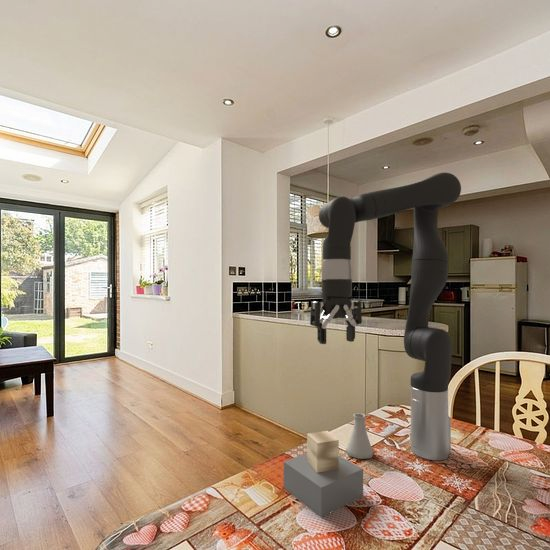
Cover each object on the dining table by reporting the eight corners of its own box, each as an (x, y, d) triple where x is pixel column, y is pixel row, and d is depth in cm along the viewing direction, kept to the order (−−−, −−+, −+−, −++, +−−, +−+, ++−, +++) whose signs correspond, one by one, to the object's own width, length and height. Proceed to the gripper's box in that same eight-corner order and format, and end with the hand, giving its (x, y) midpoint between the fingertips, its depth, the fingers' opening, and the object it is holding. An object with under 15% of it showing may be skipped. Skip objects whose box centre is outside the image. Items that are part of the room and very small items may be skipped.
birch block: (327, 457, 78) (327, 430, 78) (338, 468, 74) (338, 440, 74) (306, 461, 77) (307, 433, 77) (317, 472, 72) (317, 443, 72)
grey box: (323, 472, 83) (323, 447, 83) (363, 497, 73) (363, 468, 74) (283, 489, 76) (283, 461, 76) (321, 519, 67) (321, 487, 67)
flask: (374, 461, 88) (374, 421, 88) (345, 458, 90) (345, 419, 90) (372, 448, 95) (372, 411, 95) (345, 445, 97) (345, 409, 97)
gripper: (349, 278, 94) (349, 338, 94) (304, 277, 88) (304, 342, 88) (368, 278, 88) (368, 342, 87) (321, 277, 81) (321, 347, 81)
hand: (336, 342), depth 87 cm, fingers open, 8 cm apart
